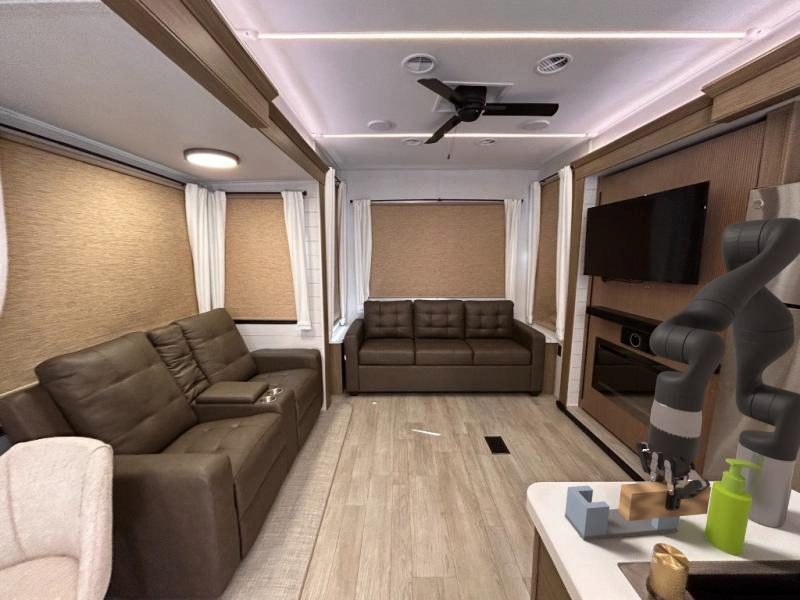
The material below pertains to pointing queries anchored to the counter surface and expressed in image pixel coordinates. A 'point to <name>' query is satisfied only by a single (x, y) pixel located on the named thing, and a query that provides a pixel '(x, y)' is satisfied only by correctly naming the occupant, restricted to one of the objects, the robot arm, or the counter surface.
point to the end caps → (608, 518)
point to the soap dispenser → (729, 509)
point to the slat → (657, 502)
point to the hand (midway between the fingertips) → (663, 503)
